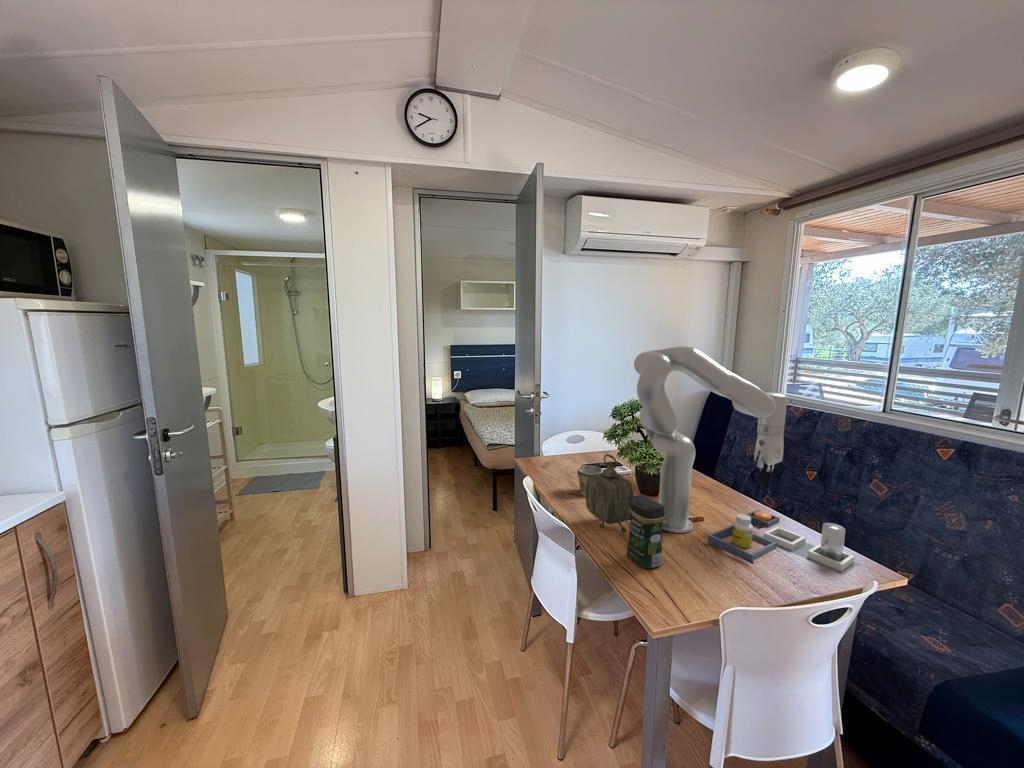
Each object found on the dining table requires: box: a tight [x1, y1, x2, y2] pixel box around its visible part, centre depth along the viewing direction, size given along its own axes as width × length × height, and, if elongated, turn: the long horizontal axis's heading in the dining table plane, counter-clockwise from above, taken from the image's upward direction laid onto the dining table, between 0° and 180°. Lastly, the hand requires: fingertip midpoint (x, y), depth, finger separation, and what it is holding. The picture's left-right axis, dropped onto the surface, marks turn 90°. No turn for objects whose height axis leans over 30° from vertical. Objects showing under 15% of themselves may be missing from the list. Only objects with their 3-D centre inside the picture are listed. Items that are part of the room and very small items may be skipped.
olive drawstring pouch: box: [585, 454, 634, 534], centre depth 132 cm, size 14×9×25 cm, turn 23°
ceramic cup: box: [576, 465, 604, 497], centre depth 162 cm, size 13×10×10 cm
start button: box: [754, 510, 772, 522], centre depth 137 cm, size 5×5×2 cm
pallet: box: [761, 526, 860, 575], centre depth 118 cm, size 10×22×3 cm, turn 31°
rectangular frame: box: [707, 524, 777, 564], centre depth 122 cm, size 13×13×2 cm
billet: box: [820, 522, 847, 562], centre depth 113 cm, size 5×5×10 cm
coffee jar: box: [626, 494, 665, 570], centre depth 113 cm, size 10×8×19 cm
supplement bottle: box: [731, 513, 754, 549], centre depth 121 cm, size 5×5×10 cm
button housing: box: [745, 509, 781, 529], centre depth 137 cm, size 7×7×2 cm
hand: (765, 481), depth 135 cm, fingers closed
